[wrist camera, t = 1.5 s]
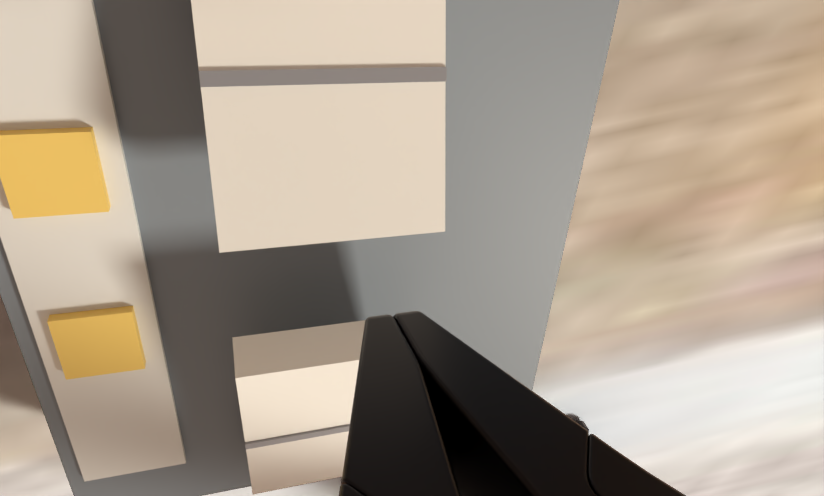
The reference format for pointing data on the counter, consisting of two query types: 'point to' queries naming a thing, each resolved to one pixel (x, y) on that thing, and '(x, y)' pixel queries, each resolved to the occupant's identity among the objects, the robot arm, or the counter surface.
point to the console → (260, 268)
